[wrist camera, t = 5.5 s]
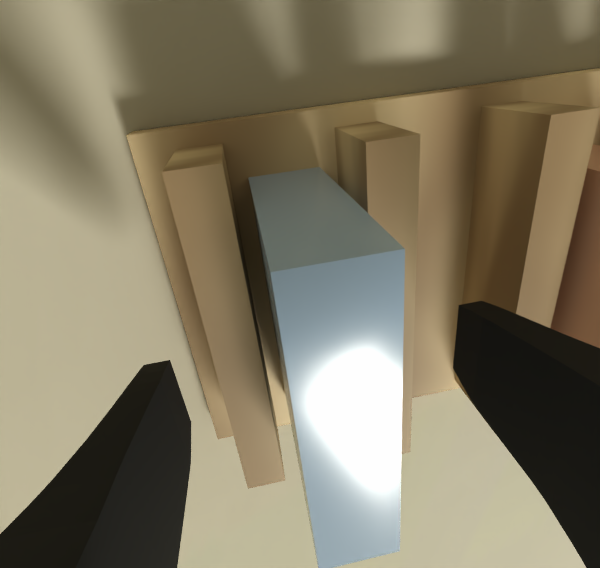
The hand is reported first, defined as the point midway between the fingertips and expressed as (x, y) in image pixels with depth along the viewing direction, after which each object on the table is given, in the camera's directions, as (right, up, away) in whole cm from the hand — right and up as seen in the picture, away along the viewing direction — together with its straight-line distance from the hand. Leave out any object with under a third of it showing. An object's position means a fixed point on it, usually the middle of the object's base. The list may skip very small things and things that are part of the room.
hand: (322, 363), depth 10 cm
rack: (+3, +3, +4) cm, 6 cm away
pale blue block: (-1, +2, +3) cm, 3 cm away
